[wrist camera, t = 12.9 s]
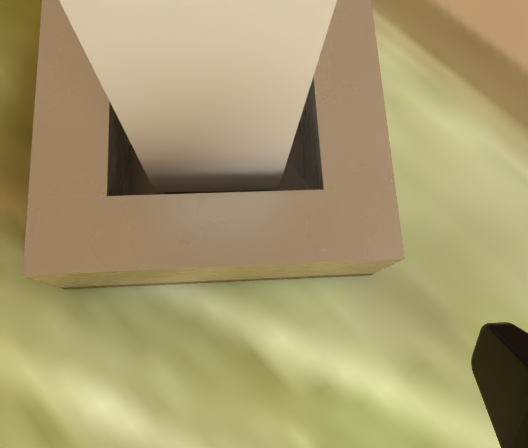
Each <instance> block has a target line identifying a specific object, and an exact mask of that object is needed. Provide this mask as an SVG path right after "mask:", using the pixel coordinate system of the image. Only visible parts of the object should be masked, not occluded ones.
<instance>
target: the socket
mask: <svg viewBox="0 0 528 448" xmlns="http://www.w3.org/2000/svg"><path fill="white" fill-rule="evenodd" d="M403 259H404V251H403V244H402V236H401V228H400V221H399V213H398V205H397V197H396V190H395V182H394V174H393V166H392V159H391V151H390V143H389V136H388V128H387V120H386V112H385V105H384V97H383V89H382V81H381V74H380V66H379V58H378V51H377V43H376V35H375V27H374V20H373V12H372V4H371V0H337V2H336V5H335V8H334V12H333V15H332V18H331V21H330V24H329V28H328V31H327V34H326V37H325V41H324V44H323V47H322V50H321V53H320V57H319V60H318V63H317V66H316V70H315V73H314V76H313V79H312V82H311V86H310V89H309V92H308V95H307V99H306V102H305V105H304V108H303V111H302V115H301V118H300V121H299V124H298V127H297V131H296V134H295V137H294V140H293V144H292V147H291V150H290V153H289V156H288V160H287V163H286V166H285V169H284V173H283V176H282V179H281V182H280V185H279V189H278V190H243V191H203V192H164V193H155V191H154V189H153V187H152V185H151V183H150V181H149V179H148V177H147V175H146V173H145V171H144V169H143V167H142V165H141V163H140V161H139V159H138V157H137V155H136V153H135V151H134V149H133V147H132V145H131V143H130V141H129V139H128V137H127V135H126V133H125V131H124V129H123V127H122V125H121V123H120V121H119V119H118V117H117V115H116V113H115V111H114V109H113V107H112V105H111V103H110V101H109V99H108V97H107V95H106V93H105V91H104V89H103V87H102V85H101V83H100V81H99V79H98V77H97V75H96V73H95V71H94V69H93V67H92V65H91V63H90V61H89V59H88V57H87V55H86V53H85V51H84V49H83V47H82V45H81V43H80V41H79V39H78V37H77V35H76V33H75V31H74V29H73V27H72V25H71V23H70V21H69V19H68V17H67V15H66V13H65V11H64V9H63V7H62V5H61V3H60V1H59V0H42V7H41V21H40V36H39V50H38V64H37V78H36V92H35V106H34V120H33V134H32V148H31V162H30V176H29V190H28V204H27V218H26V232H25V246H24V260H23V274H22V275H23V276H26V277H29V278H32V279H35V280H38V281H41V282H44V283H48V284H51V285H54V286H57V287H60V288H63V289H81V288H103V287H125V286H146V285H168V284H190V283H212V282H233V281H255V280H277V279H298V278H320V277H342V276H364V275H372V274H374V273H376V272H378V271H380V270H382V269H384V268H386V267H389V266H391V265H393V264H395V263H397V262H399V261H401V260H403Z"/></svg>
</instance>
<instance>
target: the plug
mask: <svg viewBox="0 0 528 448" xmlns="http://www.w3.org/2000/svg"><path fill="white" fill-rule="evenodd" d="M59 1H60V3H61V5H62V7H63V9H64V11H65V13H66V15H67V17H68V19H69V21H70V23H71V25H72V27H73V29H74V31H75V33H76V35H77V37H78V39H79V41H80V43H81V45H82V47H83V49H84V51H85V53H86V55H87V57H88V59H89V61H90V63H91V65H92V67H93V69H94V71H95V73H96V75H97V77H98V79H99V81H100V83H101V85H102V87H103V89H104V91H105V93H106V95H107V97H108V99H109V101H110V103H111V105H112V107H113V109H114V111H115V113H116V115H117V117H118V119H119V121H120V123H121V125H122V127H123V129H124V131H125V133H126V135H127V137H128V139H129V141H130V143H131V145H132V147H133V149H134V151H135V153H136V155H137V157H138V159H139V161H140V163H141V165H142V167H143V169H144V171H145V173H146V175H147V177H148V179H149V181H150V183H151V185H152V187H153V189H154V191H155V193H164V192H203V191H243V190H278V189H279V185H280V182H281V179H282V176H283V173H284V169H285V166H286V163H287V160H288V156H289V153H290V150H291V147H292V144H293V140H294V137H295V134H296V131H297V127H298V124H299V121H300V118H301V115H302V111H303V108H304V105H305V102H306V99H307V95H308V92H309V89H310V86H311V82H312V79H313V76H314V73H315V70H316V66H317V63H318V60H319V57H320V53H321V50H322V47H323V44H324V41H325V37H326V34H327V31H328V28H329V24H330V21H331V18H332V15H333V12H334V8H335V5H336V2H337V0H59Z"/></svg>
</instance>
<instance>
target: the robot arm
mask: <svg viewBox="0 0 528 448" xmlns="http://www.w3.org/2000/svg"><path fill="white" fill-rule="evenodd" d="M471 365H472V371H473V374H474V377H475V379H476V382H477V385H478V387H479V390H480V393H481V395H482V398H483V401H484V403H485V406H486V409H487V411H488V414H489V417H490V419H491V422H492V425H493V428H494V430H495V433H496V436H497V438H498V441H499V444H500V446H501V448H528V333H527V332H525V331H523V330H522V329H520V328H518V327H517V326H515V325H513V324H511V323H507V322H500V323H487V324H485V325H484V326H483V327H482V328H481V330H480V333H479V337H478V340H477V343H476V346H475V349H474V352H473V355H472V359H471Z"/></svg>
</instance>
